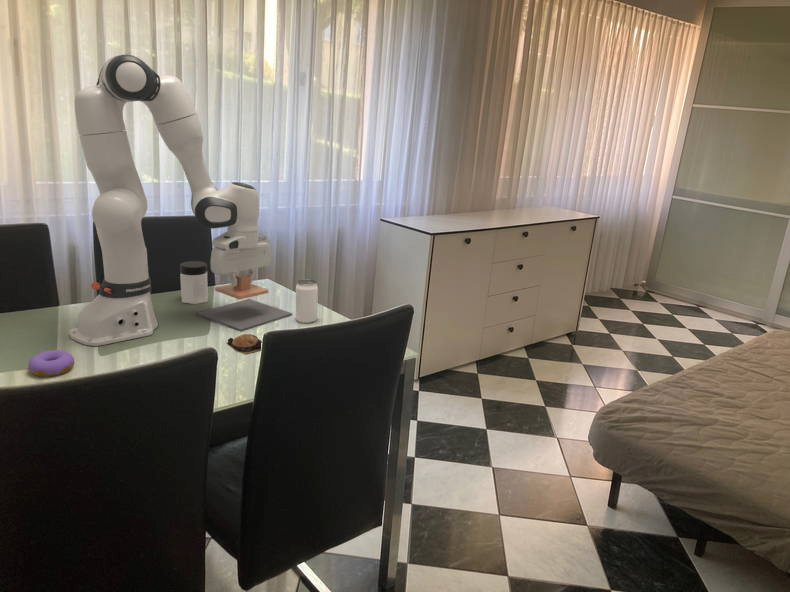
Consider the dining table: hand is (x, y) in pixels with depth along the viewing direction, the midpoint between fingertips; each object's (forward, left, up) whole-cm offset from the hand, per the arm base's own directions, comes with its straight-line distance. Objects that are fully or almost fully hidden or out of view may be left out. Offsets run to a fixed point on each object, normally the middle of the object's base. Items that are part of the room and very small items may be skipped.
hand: (241, 284), depth 183 cm
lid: (0, 0, -2) cm, 2 cm away
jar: (-1, +22, -10) cm, 24 cm away
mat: (+1, 0, -10) cm, 10 cm away
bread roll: (-15, -19, -11) cm, 27 cm away
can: (+11, -16, -10) cm, 22 cm away
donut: (-55, +1, -10) cm, 56 cm away
